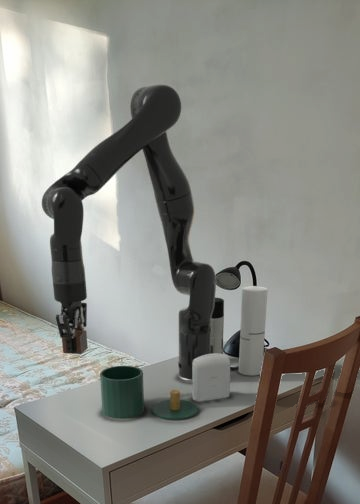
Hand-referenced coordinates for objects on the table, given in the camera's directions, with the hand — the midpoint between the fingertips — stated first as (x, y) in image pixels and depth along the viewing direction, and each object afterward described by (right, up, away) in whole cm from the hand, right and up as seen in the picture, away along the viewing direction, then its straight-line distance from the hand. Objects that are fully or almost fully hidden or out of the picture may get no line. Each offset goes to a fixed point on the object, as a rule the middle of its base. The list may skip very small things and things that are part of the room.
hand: (75, 349), depth 130 cm
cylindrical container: (+47, -4, +31) cm, 56 cm away
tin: (+11, -15, +4) cm, 20 cm away
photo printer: (+34, -12, +12) cm, 38 cm away
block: (0, 0, 0) cm, 0 cm away
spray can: (+36, 0, +39) cm, 53 cm away
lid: (+24, -15, +3) cm, 29 cm away
